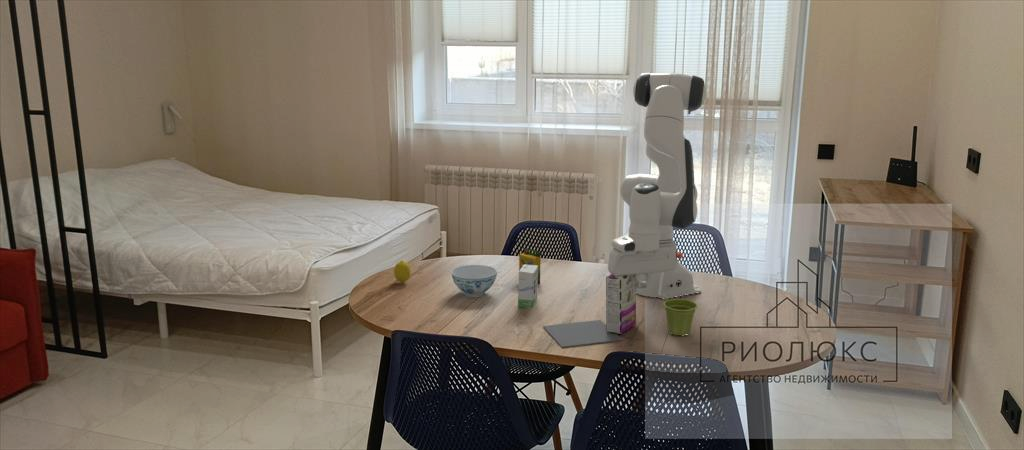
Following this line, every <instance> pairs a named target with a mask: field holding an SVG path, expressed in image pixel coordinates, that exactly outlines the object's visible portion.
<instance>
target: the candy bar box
mask: <svg viewBox="0 0 1024 450" xmlns="http://www.w3.org/2000/svg"><path fill="white" fill-rule="evenodd" d="M605 309H606V310H605V316H606V318H605V324H606V332H610V333H616V334H617V335H619V334H620V335H622V334H623V333H625V332H626V331H628V330H629V329H631V328H632V327H633V326H635V325H637V293H636V281H635V279H634V277H633V275H624V276H613V275H612V274H611V273H610V274H609V275H607V276H606V277H605Z"/></svg>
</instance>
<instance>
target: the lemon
mask: <svg viewBox="0 0 1024 450" xmlns="http://www.w3.org/2000/svg"><path fill="white" fill-rule="evenodd" d="M393 275H394V278H395V279H396V280H397V281H398V282H400V283H401V284H404V283H405V282H406V281H408V280H409V279H410V277H411V268H410V264H408V263H407V262H406V261H404V260H400V261H398V262H397V263H396V264H395V266H394V271H393Z"/></svg>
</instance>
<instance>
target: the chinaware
mask: <svg viewBox="0 0 1024 450" xmlns="http://www.w3.org/2000/svg"><path fill="white" fill-rule="evenodd" d="M450 273H451V277H452V280H453V282H454V284H455V286H456V287H457V288H458V289H459V290H460V291H461V292H462V293H464V295H465V296H466V297H469V298H479V297H482V296H484V295H485V294H486V293H485V292H487V291H488V290H489V289H491V287H492V286H493V285H494V284H495V282H496V278H497V275H498V270H497V269H496V268H495V267H492V266H489V265H483V264H467V265H461V266H457V267H455V268H453V269H452V270H451V271H450Z"/></svg>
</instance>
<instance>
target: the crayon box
mask: <svg viewBox="0 0 1024 450" xmlns="http://www.w3.org/2000/svg"><path fill="white" fill-rule="evenodd" d="M523 249H524V253H523V252H522V253H520V254H519V255H518V258H519V259H518V261H519V263H518V271H519V270H520V269H521V267H522V266H523V265H524V264H527V265H537V266H538V285H541V257H542V256H541V251H538V250H534V249H530V248H526V247H524V248H523ZM532 252H533V253H532Z"/></svg>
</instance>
